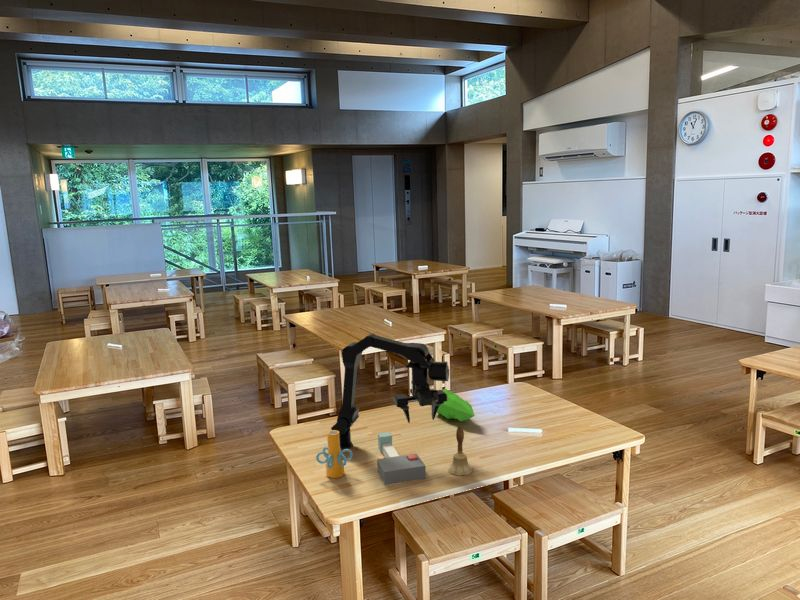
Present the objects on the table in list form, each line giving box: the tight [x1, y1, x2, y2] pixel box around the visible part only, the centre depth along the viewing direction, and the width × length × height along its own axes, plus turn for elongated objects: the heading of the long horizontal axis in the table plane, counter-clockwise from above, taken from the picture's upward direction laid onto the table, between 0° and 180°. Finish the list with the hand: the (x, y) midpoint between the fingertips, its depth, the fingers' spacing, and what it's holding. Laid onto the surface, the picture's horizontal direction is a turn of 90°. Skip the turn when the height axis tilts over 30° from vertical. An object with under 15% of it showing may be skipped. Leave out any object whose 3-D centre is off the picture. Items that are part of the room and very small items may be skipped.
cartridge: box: [377, 431, 400, 458], centre depth 213 cm, size 18×4×6 cm, turn 16°
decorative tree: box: [436, 388, 475, 422], centre depth 248 cm, size 11×12×30 cm
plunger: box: [406, 453, 417, 461], centre depth 203 cm, size 3×3×5 cm
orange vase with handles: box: [315, 429, 353, 479], centre depth 201 cm, size 12×10×15 cm
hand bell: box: [447, 424, 474, 477], centre depth 201 cm, size 8×8×16 cm
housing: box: [376, 453, 427, 486], centre depth 200 cm, size 10×14×5 cm
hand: (421, 421), depth 216 cm, fingers open, 9 cm apart
